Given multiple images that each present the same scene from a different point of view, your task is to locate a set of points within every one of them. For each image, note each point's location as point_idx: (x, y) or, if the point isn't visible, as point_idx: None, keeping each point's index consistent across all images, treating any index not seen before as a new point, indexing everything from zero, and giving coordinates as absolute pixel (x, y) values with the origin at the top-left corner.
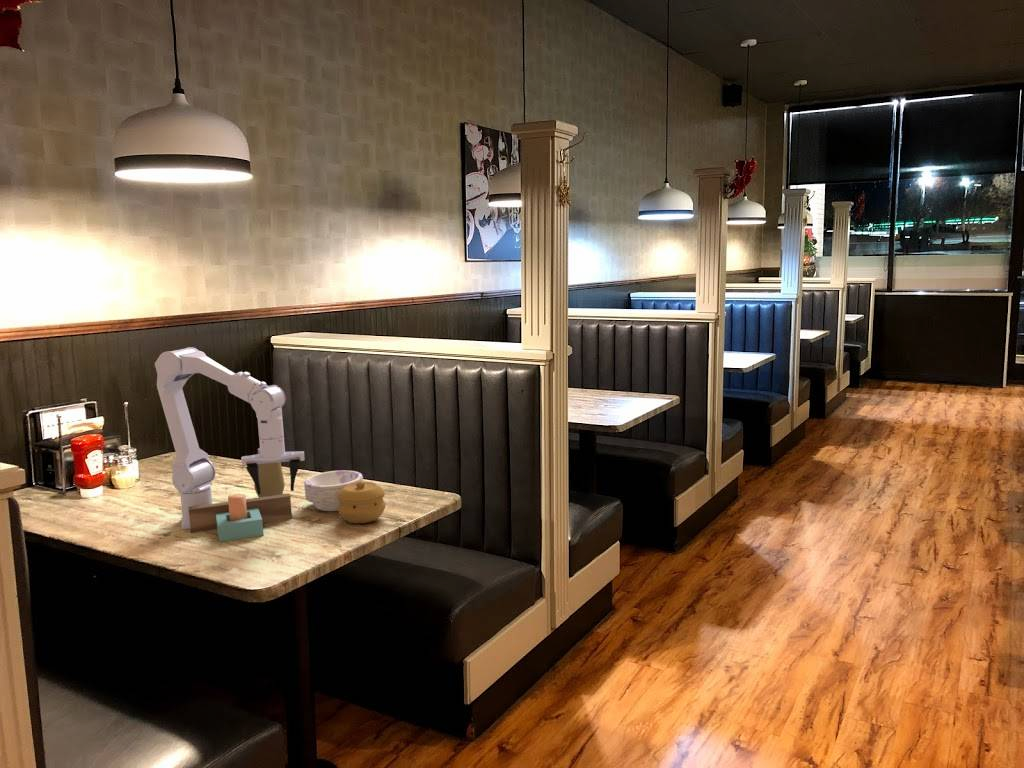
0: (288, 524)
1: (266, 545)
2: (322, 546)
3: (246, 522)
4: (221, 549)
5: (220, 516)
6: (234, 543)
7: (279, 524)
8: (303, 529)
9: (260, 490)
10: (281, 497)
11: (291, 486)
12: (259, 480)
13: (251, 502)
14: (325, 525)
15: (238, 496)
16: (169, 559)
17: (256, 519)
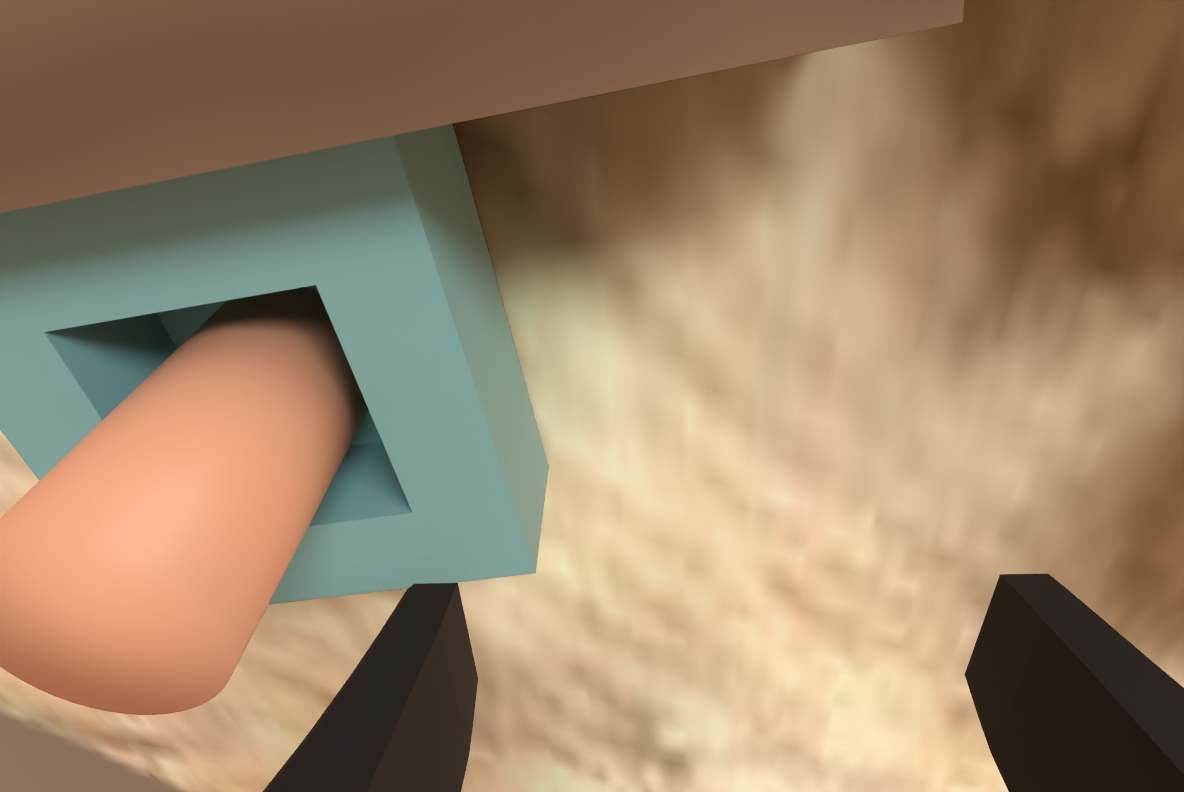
0: (773, 203)
1: (592, 623)
2: (945, 713)
3: (390, 583)
4: (292, 612)
5: (5, 370)
6: None
7: (677, 172)
8: (895, 394)
9: (465, 727)
10: (782, 54)
11: (1018, 772)
12: (385, 786)
13: (265, 160)
14: (1120, 345)
15: (128, 642)
16: None
17: (477, 567)
